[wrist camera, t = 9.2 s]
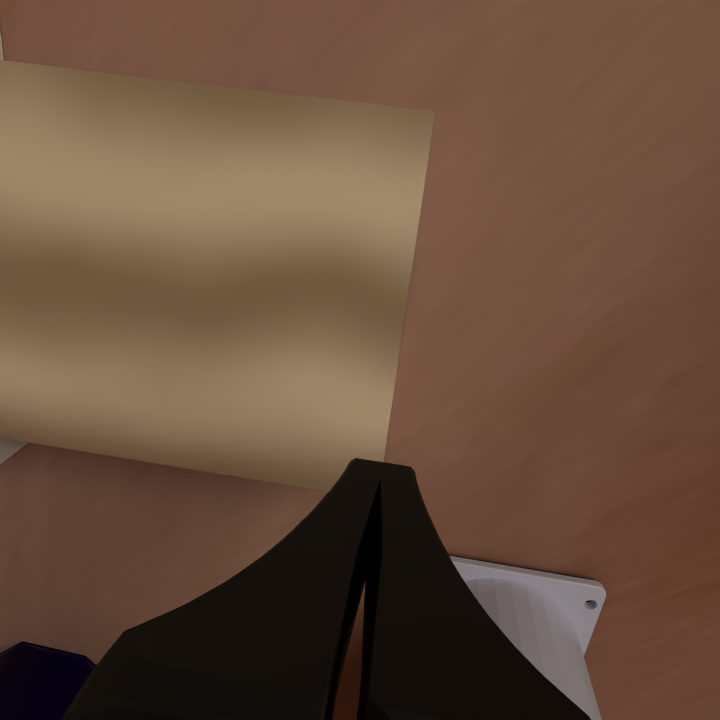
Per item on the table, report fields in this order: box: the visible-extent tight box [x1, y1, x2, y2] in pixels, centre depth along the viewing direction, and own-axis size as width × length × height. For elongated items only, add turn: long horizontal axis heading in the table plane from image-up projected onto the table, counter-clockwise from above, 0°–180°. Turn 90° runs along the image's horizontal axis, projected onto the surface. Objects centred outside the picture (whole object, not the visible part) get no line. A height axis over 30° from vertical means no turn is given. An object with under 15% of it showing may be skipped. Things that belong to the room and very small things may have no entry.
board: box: [0, 60, 435, 492], centre depth 19 cm, size 12×14×4 cm
